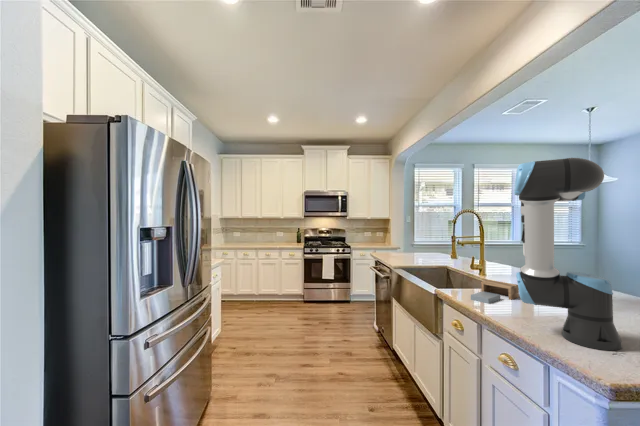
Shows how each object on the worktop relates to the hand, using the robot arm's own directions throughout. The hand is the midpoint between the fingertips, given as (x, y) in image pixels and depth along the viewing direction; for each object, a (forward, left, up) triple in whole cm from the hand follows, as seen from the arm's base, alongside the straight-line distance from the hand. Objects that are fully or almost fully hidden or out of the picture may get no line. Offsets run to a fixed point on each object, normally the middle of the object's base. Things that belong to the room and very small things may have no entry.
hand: (531, 257), depth 141 cm
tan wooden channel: (+3, +17, -23) cm, 29 cm away
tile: (-11, +17, -24) cm, 31 cm away
